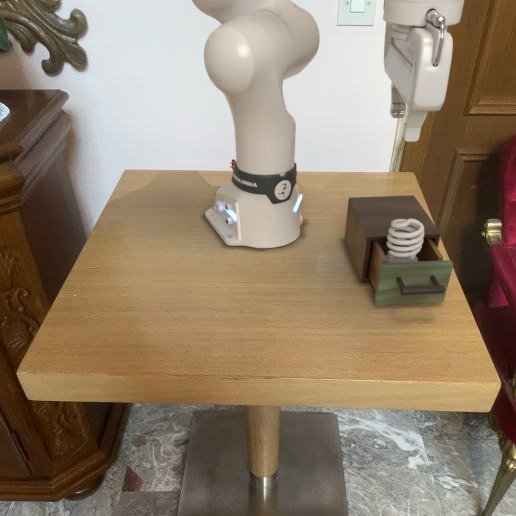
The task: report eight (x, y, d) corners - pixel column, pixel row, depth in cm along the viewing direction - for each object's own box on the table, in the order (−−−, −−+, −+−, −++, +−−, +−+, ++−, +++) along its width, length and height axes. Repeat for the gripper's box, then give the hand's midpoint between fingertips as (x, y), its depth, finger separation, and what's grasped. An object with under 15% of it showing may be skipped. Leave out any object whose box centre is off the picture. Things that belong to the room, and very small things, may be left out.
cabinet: (430, 279, 94) (441, 233, 88) (360, 282, 93) (367, 236, 88) (405, 237, 106) (413, 195, 100) (344, 240, 105) (348, 197, 100)
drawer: (452, 317, 84) (463, 278, 79) (382, 320, 83) (389, 281, 78) (417, 257, 98) (425, 221, 93) (357, 260, 98) (361, 224, 93)
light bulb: (382, 294, 87) (393, 228, 79) (377, 276, 91) (387, 212, 84) (416, 294, 87) (431, 228, 79) (409, 276, 91) (422, 211, 83)
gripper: (477, 18, 52) (446, 156, 61) (431, -8, 68) (411, 105, 77) (414, 18, 52) (392, 156, 61) (382, -7, 68) (368, 105, 77)
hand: (403, 127), depth 69 cm, fingers open, 8 cm apart
